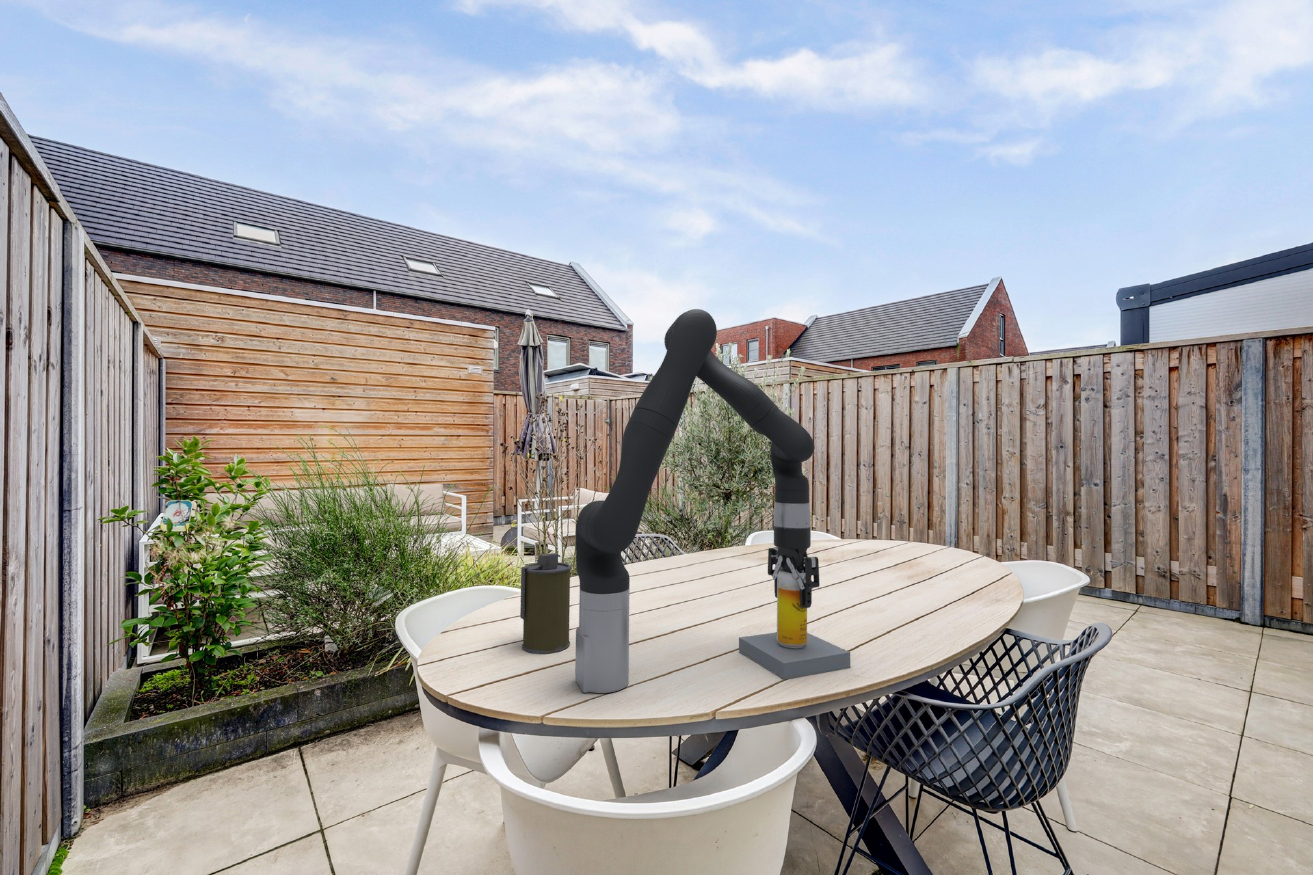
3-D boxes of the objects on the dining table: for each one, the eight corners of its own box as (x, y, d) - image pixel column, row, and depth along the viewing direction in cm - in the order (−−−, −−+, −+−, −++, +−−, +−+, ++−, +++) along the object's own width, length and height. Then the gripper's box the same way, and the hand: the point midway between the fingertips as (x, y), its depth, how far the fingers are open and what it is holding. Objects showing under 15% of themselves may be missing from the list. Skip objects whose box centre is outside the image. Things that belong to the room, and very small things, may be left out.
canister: (559, 635, 124) (560, 549, 125) (577, 648, 116) (579, 555, 117) (513, 643, 119) (515, 553, 120) (529, 657, 110) (531, 560, 111)
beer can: (807, 650, 107) (807, 574, 108) (776, 647, 108) (777, 572, 109) (806, 641, 112) (806, 569, 113) (776, 638, 114) (777, 567, 115)
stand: (784, 679, 100) (784, 663, 100) (738, 651, 114) (738, 637, 115) (850, 667, 106) (850, 652, 106) (799, 642, 121) (799, 628, 121)
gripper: (829, 527, 106) (830, 609, 106) (786, 520, 119) (786, 593, 119) (798, 528, 103) (799, 613, 103) (757, 521, 117) (757, 596, 116)
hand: (792, 602), depth 111 cm, fingers open, 8 cm apart
